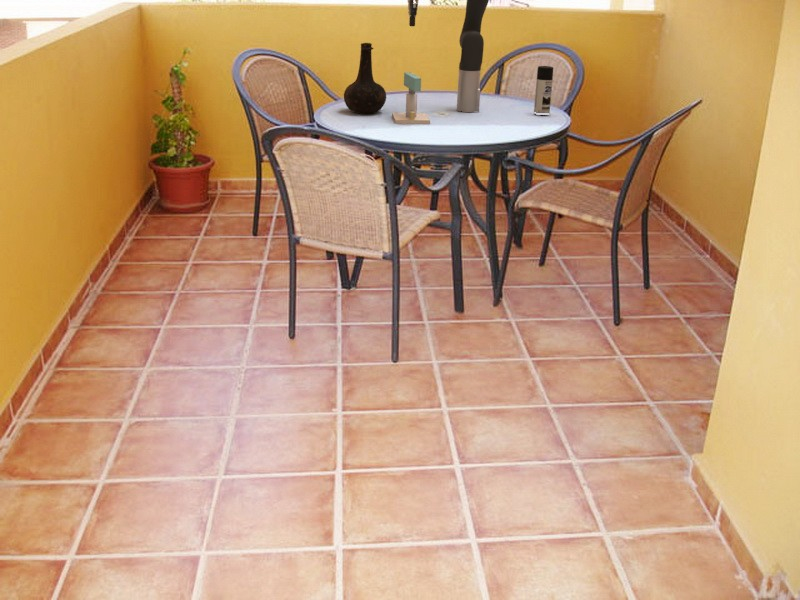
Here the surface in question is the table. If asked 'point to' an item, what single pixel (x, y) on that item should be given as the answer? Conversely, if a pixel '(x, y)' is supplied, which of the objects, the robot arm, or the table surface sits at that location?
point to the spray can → (543, 89)
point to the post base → (411, 113)
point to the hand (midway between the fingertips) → (412, 26)
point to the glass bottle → (365, 87)
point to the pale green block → (412, 82)
